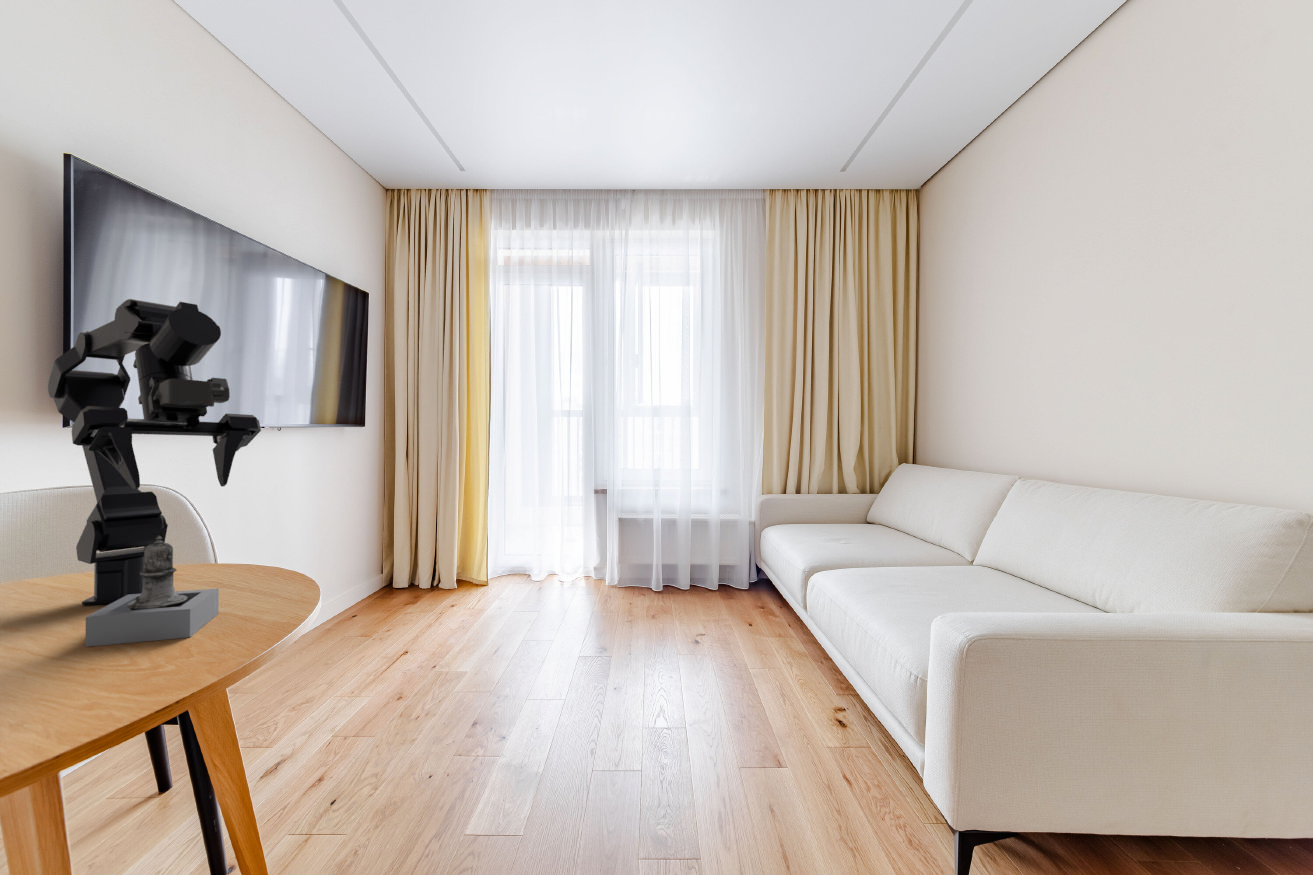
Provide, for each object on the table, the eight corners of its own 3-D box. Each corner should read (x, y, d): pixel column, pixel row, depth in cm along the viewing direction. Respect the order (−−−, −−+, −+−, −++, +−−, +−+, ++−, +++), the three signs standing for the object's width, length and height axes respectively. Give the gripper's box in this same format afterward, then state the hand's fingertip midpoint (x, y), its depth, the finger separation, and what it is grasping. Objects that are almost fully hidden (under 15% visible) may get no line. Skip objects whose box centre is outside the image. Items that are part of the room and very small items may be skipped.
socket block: (127, 620, 77) (128, 594, 77) (218, 613, 80) (218, 588, 80) (85, 646, 67) (85, 616, 67) (189, 637, 71) (190, 608, 71)
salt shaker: (151, 638, 70) (153, 540, 70) (113, 634, 72) (115, 538, 72) (198, 623, 76) (200, 532, 76) (163, 619, 77) (164, 530, 77)
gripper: (90, 340, 68) (104, 460, 64) (267, 362, 83) (287, 460, 79) (65, 387, 73) (77, 500, 69) (235, 399, 89) (253, 492, 85)
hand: (182, 486), depth 75 cm, fingers open, 9 cm apart
